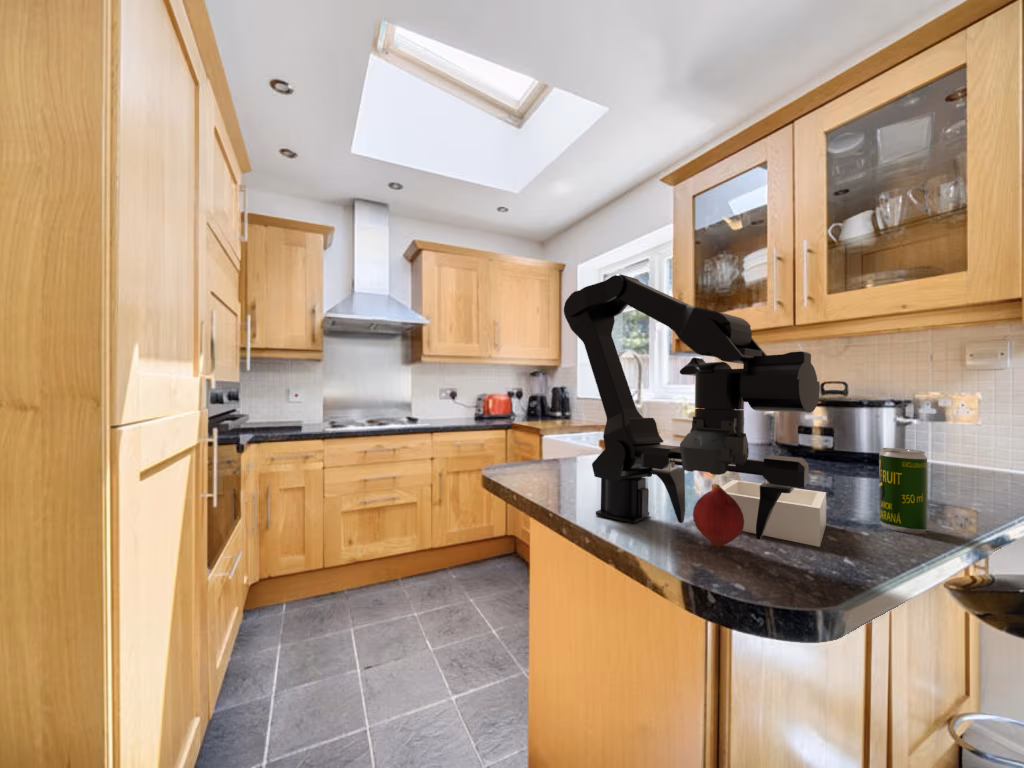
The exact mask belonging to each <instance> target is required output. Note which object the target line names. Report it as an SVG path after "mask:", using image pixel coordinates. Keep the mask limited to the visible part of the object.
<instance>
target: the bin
mask: <svg viewBox="0 0 1024 768" xmlns="http://www.w3.org/2000/svg"><path fill="white" fill-rule="evenodd" d="M762 484H763V483H760V482H754V481H753V482H752V481H751V482H750V481H745V480H737V479H732V480H731V481H729V482H726V483H725V484H724V485H722V486H720V487H721V488H722V489H723V490H724V491H725V492H726V493H727V494H729V495H730V496H731V497H732V498H733V499H734V500H735V501H736V502H737V504H738V505H739V507H740V509H741V511H742V513H743V517H744V527H743V530H742V532H746V533H752V534H755V535H756V523H757V515H758V508H759V501H760V485H762ZM826 527H827V492H825V491H820V490H812V489H811V490H810V489H803V488H797V487H795V488H794V489H793V490H792V492H791V493H781V495H780V497H779V499H778V500H777V502H776V504H775V506H774V508H773V510H772V513H771V515H770V517H769V520H768V522H767V525H766V527H765V530H764V532H763V535H762V536H765V537H771V538H776V539H780V540H784V541H785V540H786V541H790V542H795V543H800V544H804V545H808V546H812V547H813V546H815V547H819V548H820V547H821V545H822V541H823V538H824V537H823V536H824V533H825V530H826Z"/></svg>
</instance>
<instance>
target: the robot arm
mask: <svg viewBox="0 0 1024 768" xmlns="http://www.w3.org/2000/svg"><path fill="white" fill-rule="evenodd" d="M628 306H629V307H631V308H633V309H635V310H637V311H638V312H640V313H642V314H644V315H646V316H648V317H649V318H651V319H653V320H655V321H657V322H659V323H661V324H663V325H665V326H666V327H668V328H669V329H671V331H672V332H674V335H676V336H677V338H678V339H679V340H680V341H681V342H682V343H683V344H684V345H686V346H687V347H688V348H689V349H691V351H693V352H694V353H695V354H697V355H700V356H705V357H712V358H717V359H718V360H720V361H714V362H710V361H709V362H706V361H704V359H703V358H700V357H692V358H691V359H690V361H689V362H688V363H687V364H686V365H684V366H683V367H682V368H681V369H680V370H679V374H680V375H684V376H694V377H695V382H694V383H695V385H694V400H695V401H694V416H692V420H691V428H690V431H689V432H688V433H687V434H686V435H685V436H684V438H683V439H682V440H681V442H680V443H679V446H678V445H667V444H661V443H664V440H663V438H662V437H661V435H660V434H659V430H658V427H657V422H656V420H655V418H654V417H643V415H642V414H641V413H639V410H638V409H637V407H636V405H635V404H636V403H635V401H634V398H633V395H632V392H631V389H630V386H629V383H628V381H627V376H626V374H625V371H624V369H623V365H622V362H621V359H620V356H619V353H618V350H617V348H616V345H615V342H614V339H613V336H612V334H613V329H614V326H615V321H616V320H615V317H617V316H619V315H620V314H621V313H623V312H624V311H625V309H626V308H627V307H628ZM563 313H564V317H565V320H566V321H567V324H568V326H569V328H570V330H571V331H572V332H573V334H575V335H576V336H577V337H578V338H579V340H581V342H582V343H583V345H584V348H585V350H586V354H587V358H588V362H589V365H590V368H591V371H592V374H593V378H594V381H595V384H596V388H597V390H598V393H599V397H600V401H601V403H602V407H603V411H604V414H605V416H606V422H605V427H604V431H603V435H602V436H603V437H602V438H603V443H604V449H603V450H602V452H601V453H600V454H599V455H598V456H597V458H596V459H594V461H593V462H592V463H591V466H592V467H591V468H592V472H593V475H594V477H595V478H597V479H598V478H600V509H598V510H595V515H596V516H599V517H603V518H606V519H607V518H608V519H611V520H617V521H620V522H626V523H630V524H635V523H637V522H639V521H641V520H643V519H644V518H647V517H649V516H650V511H649V497H650V496H649V495H650V494H649V491H650V490H649V488H648V487H646V485H647V478H652V476H653V475H655V476H657V477H658V478H659V480H661V482H662V484H663V485H664V487H665V489H666V491H667V493H668V496H669V499H670V502H671V505H672V507H673V510H674V513H675V516H676V520H677V522H678V524H683V523H684V522H685V515H686V514H685V513H686V477H685V476H686V475H685V472H695V471H696V472H701V473H702V472H704V473H709V474H710V475H715V476H719V475H724V474H726V472H731V473H739V474H748V475H756V476H762V478H763V479H764V480H765V481H764V482H763V483H761V484H762V485H760V501H759V508H758V515H757V523H756V534H755V539H756V540H758V541H759V540H761V539H762V537H763V536H764V535H763V532H764V530H765V527H766V525H767V522H768V520H769V517H770V515H771V513H772V510H773V508H774V506H775V504H776V502H777V500H778V499H779V497H780V495H781V493H791V492H792V490H793V489H794V488H797V489H803V488H805V487H806V486H807V485H808V483H809V480H810V479H809V473H810V472H809V471H810V470H809V469H810V468H809V463H808V461H807V460H805V459H804V458H803V457H797V456H796V457H794V456H783V455H775V454H774V455H773V454H770V455H768V456H766V457H764V458H763V460H759V459H751V458H749V452H750V451H749V442H748V441H749V440H748V437H747V434H746V433H745V403H748V405H749V406H750V408H751V409H752V410H754V411H756V412H760V411H761V412H780V413H781V412H785V413H813V412H814V411H815V410H816V409H817V406H818V404H819V403H818V402H819V400H820V393H821V391H820V390H821V387H820V386H821V385H820V384H821V383H820V381H818V377H817V376H818V375H817V372H816V370H815V366H813V364H812V355H811V354H812V353H810V352H808V351H803V350H802V351H792V352H791V351H790V352H786V353H784V354H783V353H782V354H769V355H767V354H766V352H764V350H763V349H762V348H761V347H760V346H759V344H758V343H757V342H756V341H755V340H754V338H753V337H752V336H753V333H752V330H751V324H750V322H748V321H747V320H746V319H744V318H742V317H739V316H736V315H731V314H728V313H723V312H720V311H715V310H713V309H712V310H711V309H708V308H702V307H699V306H694V305H690V304H688V303H686V302H684V301H682V300H680V299H677V298H675V297H673V296H671V295H669V294H666V293H664V292H662V291H660V290H659V289H656V288H654V287H652V286H649V285H647V284H645V283H643V282H641V281H640V280H639V279H637V278H635V277H632V276H628V275H624V274H620V273H619V274H615V275H612V276H611V277H609V278H607V279H605V280H604V281H600V282H597V283H594V284H590V285H587V286H585V287H583V288H581V289H580V290H574V291H573V292H571V293H570V295H569V296H568V297H567V298H566V300H565V302H564V307H563ZM728 363H734V364H741V365H743V368H732V367H731V366H730V364H728ZM679 466H682V467H679Z"/></svg>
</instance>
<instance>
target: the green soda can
mask: <svg viewBox="0 0 1024 768" xmlns="http://www.w3.org/2000/svg"><path fill="white" fill-rule="evenodd" d="M880 450H881V451H880V452H879V454H878V464H879V465H878V467H879V468H878V472H879V473H878V479H879V480H878V485H879V486H878V491H879V493H878V494H879V495H878V497H879V499H878V503H879V504H878V505H879V507H878V508H879V509H878V510H879V512H878V514H879V515H878V516H879V522H880V524H881V526H882V527H883V528H886V529H888V530H892V531H896V532H899V533H907V534H915V535H918V534H919V535H920V534H925V533H926V531H928V527H929V526H928V523H929V522H928V520H929V519H928V517H929V516H928V458H927V456H926V451H924V450H918V449H912V448H911V449H910V448H909V449H908V448H898V447H897V448H896V447H881V448H880Z"/></svg>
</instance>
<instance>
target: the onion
mask: <svg viewBox="0 0 1024 768" xmlns="http://www.w3.org/2000/svg"><path fill="white" fill-rule="evenodd" d="M721 487H722V486H720V484H718V483H712V484H711V490H710V491H708V492H706V493H705V494H703V495H702V496H700V498H699V499H698V500H697V501H696V503H695V505H694V507H693V512H692V517H693V522H694V524H695V527H696V529H698V531H699V532H700V533H701V535H702V536H703V537H705V538H706V539H707V540H708V542H709V543H710V544H711V545H712V546H714V547H717V548H721V547H723V546H725V545H727V544H730V543H731V542H732V541H734V540H735V539H737V537H739V536H740V535H741V534H742V532H743V531H742V530H743V527H744V517H743V513H742V511H741V509H740V507H739V505H738V504H737V502H736V501H735V500H734V499H733V498H732V497H731V496H730V495H729V494H727V493H726V492H725V491H724V490H723V489H722V488H721Z"/></svg>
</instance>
